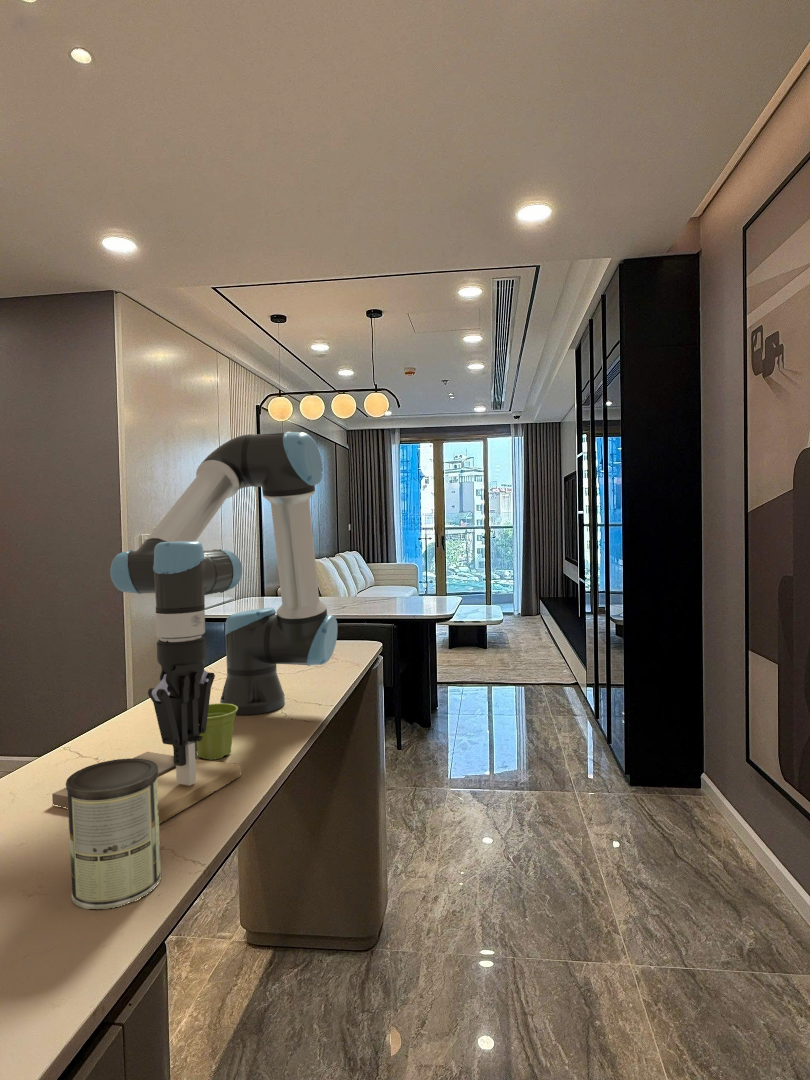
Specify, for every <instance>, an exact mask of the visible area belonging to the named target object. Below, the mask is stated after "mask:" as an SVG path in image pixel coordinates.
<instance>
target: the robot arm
mask: <svg viewBox="0 0 810 1080" xmlns="http://www.w3.org/2000/svg"><path fill="white" fill-rule="evenodd" d="M195 473H196V475H195V476H196V477H195V478H194V479H193V480H192V482H191V483H190V484H189V485H188V487H187V488H186V489H185V490H184V492H183V493H182V494H181V496H180V497H179V498H178V499H177V501H175V503H174V504H173V506H171V507H170V509H168V510H169V511H168V512H167V513H166V514H165V515H164V516H163V518H162V519H161V520H160V522H158V524H157V525H156V526H155V528H154V529H153V530H152V531H151V533H150V534H149V535H148V536H147V538H146V539H145V540H144V541H143V543H142V544H141V545H140V547H139V548H137V550H131V549H130V550H127V551H121V552H120V553H117V554H116V555H115V556H114V558H113V559H112V562H111V565H110V569H109V570H110V572H109V573H110V578H111V579H110V580H111V582H112V584H113V585H114V587H115V588H116V589H117V591H120V592H122V593H131V594H137V595H142V594H154V596H155V636H156V637H157V638H158V641H157V642H156V661H157V663H158V664H159V665H160V667H161V672H160V675H159V681H160V682H159V683H158V684H157V685H156V686H155V688H154V687H152V688H149V689H148V691H147V695H148V696H149V698H150V700H151V701H152V703H153V708H154V711H155V717H156V719H157V720H156V721H157V725H158V729H159V733H160V736H161V742H162V744H164V745H170V746H172V748H173V749H172V750H173V756H174V764H175V765H176V780H177V783H178V784H184V785H189V786H190V785H192V784H194V783H195V782H196V762H195V759H197V757H198V754H197V741H201V740H202V736H199V735H200V734H201V733H205V731H206V725H207V717H208V709H209V704H210V699H211V692H212V691H211V690H212V685H213V683H214V681H215V677H216V675H215V673H214V672H208V671H207V670H205V665H204V664H203V661H206V660H207V639H206V638H205V636H204V634H205V633H206V615H205V614H206V613H205V609H206V608H205V607H206V605H205V602H206V601H205V596H208V595H212V594H219V593H225V592H227V591H229V590H232V589H234V588H235V587H236V586H237V585H238V584H239V583H240V581H241V579H242V575H243V566H242V562H241V560H240V558H239V557H238V555H237V554H235V553H234V552H232V551H230V550H227V549H220V548H219V549H212V550H204V548H203V547H204V546H203V544H202V543H201V542H200V541H198V539H199V537H200V536H201V534H202V533H203V531H204V530H205V529H206V528H207V526H208V525H209V524H210V522H211V521H212V520H213V518H214V516H215V515H216V514H217V512H218V511H219V509H221V507H222V505H223V504H224V502H225V501H226V500H227V499H230V498H232V497H234V496H235V495H236V494H237V493H238V491H239V490H241V489H245V488H250V487H251V488H252V487H254V488H255V487H257V488H258V487H259V488H261V490H262V497H263V498H264V499H266V500H267V501H268V502H269V504H270V509H271V517H272V526H273V534H274V535H273V536H274V543H275V553H276V560H277V570H278V578H279V588H280V595H281V596H280V597H281V598H280V599H281V605H279V607H278V608H277V609H276V610H275V608H274V607H265V608H257V609H256V608H255V609H251V610H250V609H249V610H244V611H241V612H235V613H232V614H230V615H228V617H227V618H226V620H225V633H224V636H225V650H226V651H225V653H226V655H225V656H226V678H225V682H224V685H223V689H222V691H221V692H222V694H221V696H220V700H219V703H223V704H233V705H236V706H237V707H238V710H237V712H236V715H240V716H244V715H245V716H246V715H247V716H248V715H260V714H266V713H269V712H273V711H276V710H279V709H281V708H282V707H284V706H285V704H286V702H285V700H286V698H285V692H284V691H283V686H282V684H281V680H280V678H279V675H278V671H277V665H294V666H295V665H297V666H307V667H311V666H322V665H325V664H327V662H329V661H330V660H331V658H332V657H333V654H334V651H335V648H336V644H337V639H338V620H337V618H336V617H335V615H332V614H328V610H327V609H328V608H327V605H326V604H325V603H324V601H322V600H320V593H319V585H318V573H317V565H316V555H315V544H314V543H315V541H314V535H313V534H314V533H313V526H312V525H313V524H312V515H311V514H312V513H311V505H310V499H311V497H313V495H314V494H315V493H316V488H315V487H316V485H318V484H320V482H322V478H323V461H322V456H321V452H320V450H319V446H318V445H317V443H316V441H315V440H314V438H313V437H312V436H311V435H310V434H308V433H306V432H298V431H297V432H296V431H295V432H293V431H286V432H285V431H283V432H272V433H260V434H259V433H258V434H257V433H255V434H251V433H250V434H242V435H239V436H236V437H233V438H232V439H230V440H228V441H226V442H225V443H223V444H221V445H219V446H217V448H216V449H214V450H213V451H212V452H211V453H209V454H208V456H206V457H205V458H204V460H202V462H201V463H200V464H199V465H198V466H197V469H196V472H195ZM198 724H200V725H198Z"/></svg>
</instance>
